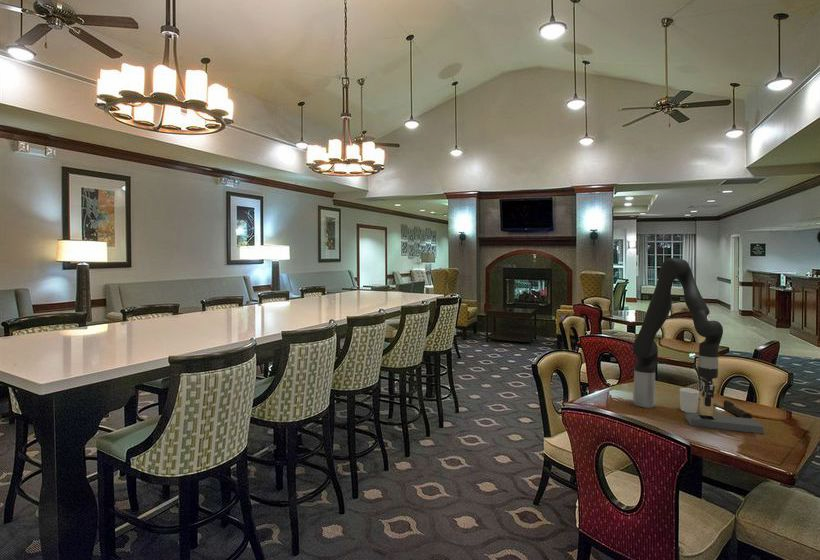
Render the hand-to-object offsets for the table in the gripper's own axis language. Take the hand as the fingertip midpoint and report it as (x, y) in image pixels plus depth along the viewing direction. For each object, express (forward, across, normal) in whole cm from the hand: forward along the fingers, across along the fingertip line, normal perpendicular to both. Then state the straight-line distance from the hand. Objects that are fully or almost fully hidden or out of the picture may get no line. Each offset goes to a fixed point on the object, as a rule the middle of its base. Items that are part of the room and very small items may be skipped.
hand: (706, 404), depth 196 cm
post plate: (+9, 0, +6) cm, 11 cm away
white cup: (+9, -18, -3) cm, 20 cm away
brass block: (+4, 0, 0) cm, 4 cm away
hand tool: (+9, -20, +16) cm, 27 cm away
